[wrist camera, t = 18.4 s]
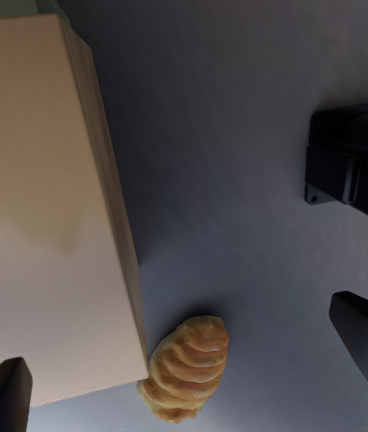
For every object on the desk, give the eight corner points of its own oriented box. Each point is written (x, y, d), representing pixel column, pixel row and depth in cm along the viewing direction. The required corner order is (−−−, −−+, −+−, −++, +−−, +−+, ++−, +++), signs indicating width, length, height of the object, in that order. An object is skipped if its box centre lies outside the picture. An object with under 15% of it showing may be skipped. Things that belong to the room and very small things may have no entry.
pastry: (171, 301, 23) (181, 339, 20) (242, 315, 25) (261, 352, 22) (132, 381, 26) (134, 426, 23) (198, 387, 28) (209, 429, 25)
